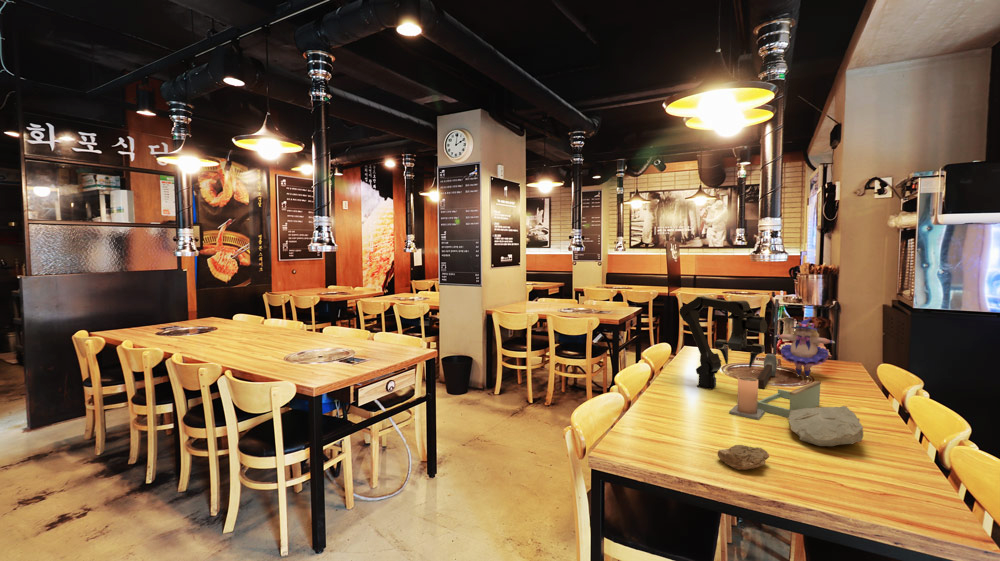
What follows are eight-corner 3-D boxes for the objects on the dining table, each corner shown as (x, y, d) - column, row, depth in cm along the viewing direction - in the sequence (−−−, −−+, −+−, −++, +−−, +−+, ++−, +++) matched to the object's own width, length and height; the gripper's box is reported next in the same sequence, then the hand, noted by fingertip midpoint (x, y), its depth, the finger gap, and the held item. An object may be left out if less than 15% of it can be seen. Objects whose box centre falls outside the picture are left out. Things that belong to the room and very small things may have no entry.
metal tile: (729, 413, 176) (729, 411, 176) (736, 407, 184) (736, 404, 183) (758, 420, 169) (758, 417, 169) (764, 412, 177) (764, 410, 177)
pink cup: (733, 408, 179) (734, 377, 178) (748, 407, 180) (749, 376, 180) (745, 414, 172) (747, 382, 172) (761, 413, 174) (762, 381, 173)
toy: (769, 376, 228) (772, 316, 226) (777, 368, 244) (779, 312, 242) (831, 386, 212) (834, 321, 210) (836, 376, 228) (838, 316, 226)
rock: (714, 467, 133) (715, 450, 132) (719, 453, 142) (720, 438, 141) (767, 480, 125) (767, 462, 125) (769, 464, 134) (770, 448, 134)
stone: (793, 449, 145) (872, 454, 135) (789, 419, 146) (868, 422, 136) (787, 424, 174) (853, 426, 164) (784, 399, 175) (849, 400, 165)
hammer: (766, 397, 207) (776, 374, 230) (766, 373, 206) (776, 353, 228) (754, 395, 210) (765, 373, 233) (754, 372, 209) (765, 352, 231)
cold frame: (750, 407, 183) (751, 383, 182) (778, 396, 198) (779, 373, 197) (793, 419, 170) (794, 393, 170) (819, 405, 185) (820, 381, 184)
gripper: (710, 329, 197) (709, 365, 198) (759, 335, 184) (757, 373, 185) (718, 326, 205) (717, 361, 206) (765, 331, 193) (764, 368, 194)
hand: (738, 365), depth 198 cm, fingers open, 9 cm apart
